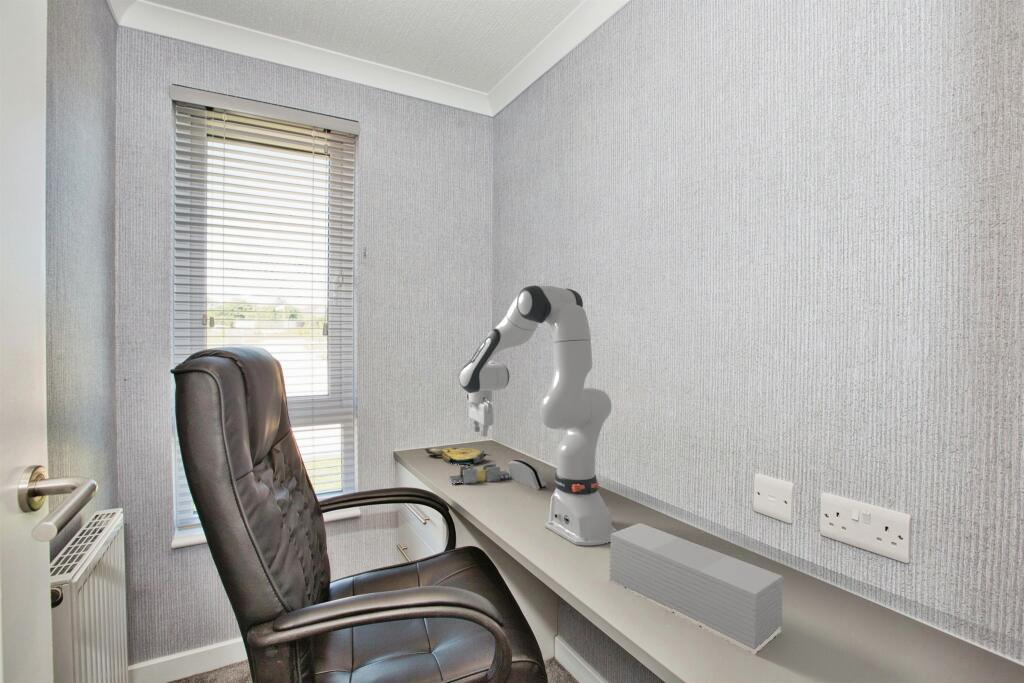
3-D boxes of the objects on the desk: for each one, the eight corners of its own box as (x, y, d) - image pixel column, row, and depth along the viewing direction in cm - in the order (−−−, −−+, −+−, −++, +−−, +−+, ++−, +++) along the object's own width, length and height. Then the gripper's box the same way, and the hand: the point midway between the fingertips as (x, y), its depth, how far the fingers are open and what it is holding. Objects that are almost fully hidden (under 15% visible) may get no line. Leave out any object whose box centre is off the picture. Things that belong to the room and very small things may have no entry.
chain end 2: (509, 479, 184) (510, 466, 184) (487, 482, 181) (487, 468, 181) (504, 475, 190) (504, 462, 190) (482, 477, 186) (482, 464, 186)
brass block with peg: (495, 480, 183) (496, 467, 183) (464, 483, 180) (464, 470, 180) (494, 478, 186) (494, 466, 186) (463, 481, 182) (463, 468, 182)
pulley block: (437, 438, 225) (491, 447, 210) (438, 450, 226) (492, 460, 211) (416, 449, 213) (472, 459, 198) (417, 462, 214) (473, 472, 199)
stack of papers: (609, 581, 109) (610, 533, 109) (639, 567, 116) (640, 522, 116) (754, 656, 84) (755, 594, 84) (781, 633, 91) (782, 575, 90)
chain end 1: (476, 483, 179) (476, 469, 179) (452, 485, 176) (453, 471, 176) (472, 478, 185) (472, 465, 185) (449, 480, 182) (449, 467, 182)
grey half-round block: (548, 487, 175) (541, 462, 173) (538, 494, 173) (531, 469, 171) (521, 476, 189) (514, 453, 187) (511, 482, 186) (504, 458, 184)
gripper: (497, 399, 174) (497, 438, 174) (480, 393, 193) (480, 428, 193) (480, 400, 172) (480, 439, 172) (465, 394, 191) (465, 429, 191)
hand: (480, 433), depth 183 cm, fingers open, 8 cm apart
